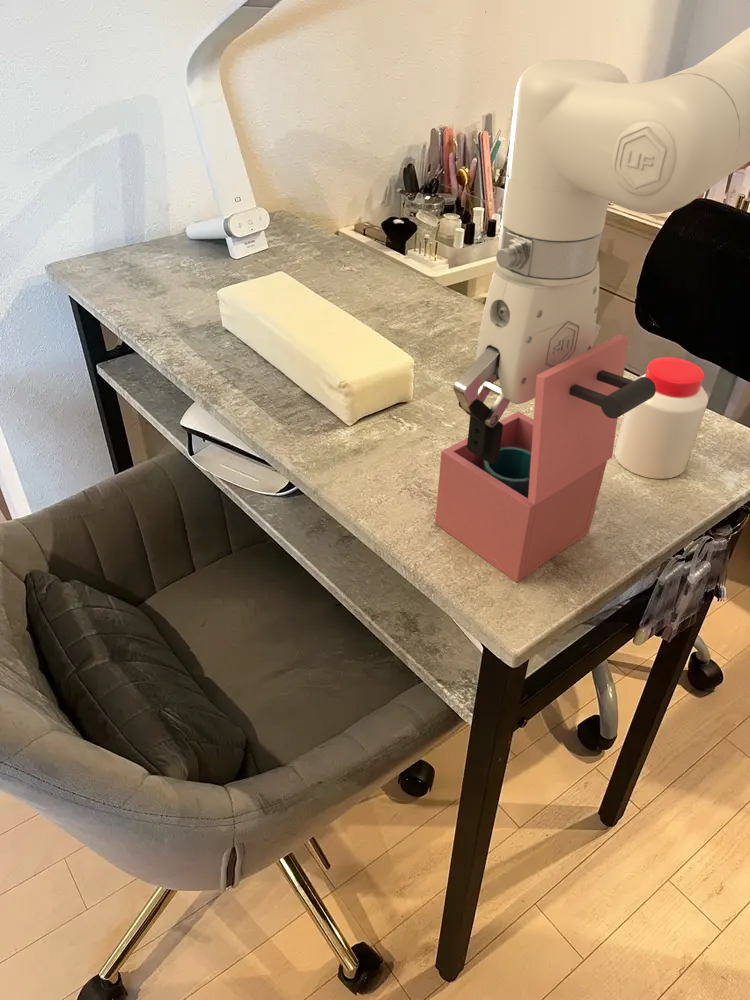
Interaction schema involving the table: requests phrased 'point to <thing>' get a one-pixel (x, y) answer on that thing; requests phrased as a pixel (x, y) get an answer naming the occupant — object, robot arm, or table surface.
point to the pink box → (511, 507)
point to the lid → (580, 415)
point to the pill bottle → (664, 421)
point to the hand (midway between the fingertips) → (519, 435)
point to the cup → (512, 469)
